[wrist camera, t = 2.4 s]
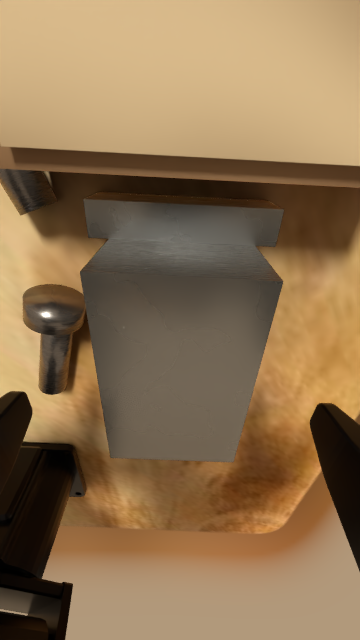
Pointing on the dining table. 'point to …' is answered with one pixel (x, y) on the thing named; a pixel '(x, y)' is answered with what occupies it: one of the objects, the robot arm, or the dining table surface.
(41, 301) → the bolt
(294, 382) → the dining table surface
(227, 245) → the block
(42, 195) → the bolt
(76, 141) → the stand
